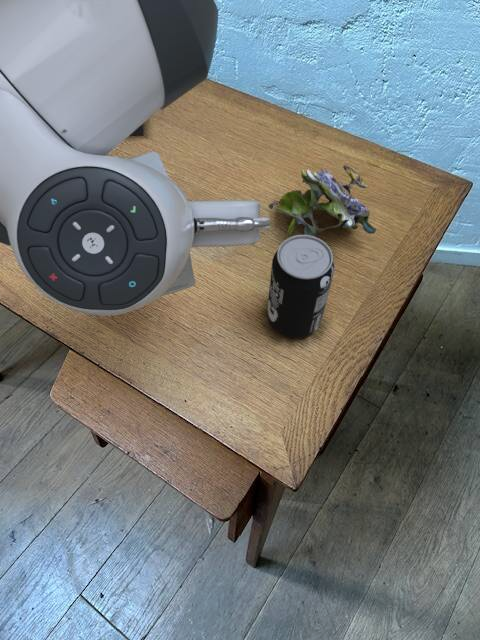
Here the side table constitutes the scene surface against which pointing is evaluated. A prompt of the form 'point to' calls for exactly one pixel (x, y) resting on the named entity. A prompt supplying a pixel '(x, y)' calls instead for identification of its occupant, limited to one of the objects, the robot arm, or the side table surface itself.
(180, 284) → the ink box
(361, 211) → the passion flower
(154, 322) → the side table surface
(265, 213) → the side table surface
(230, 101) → the side table surface
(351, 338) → the side table surface
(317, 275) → the beverage can
